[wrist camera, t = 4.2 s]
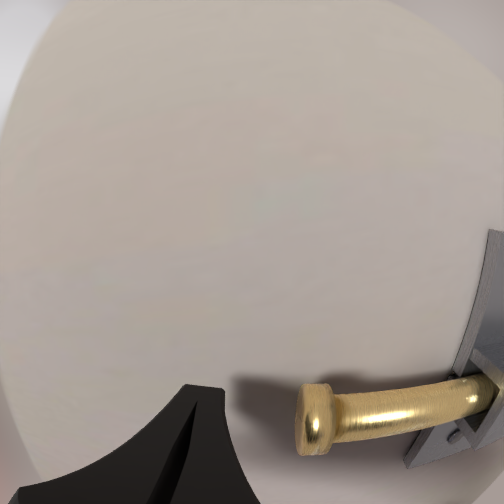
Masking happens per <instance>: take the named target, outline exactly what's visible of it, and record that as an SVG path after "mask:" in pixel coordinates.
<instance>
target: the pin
mask: <svg viewBox="0 0 504 504" xmlns="http://www.w3.org/2000/svg"><path fill="white" fill-rule="evenodd" d="M500 390H501V389H500V388H499V387H498V386H497V385H496V384H495V383H494V382H493V381H492V380H491V379H490V378H489V377H488V376H487V375H486V374H485V373H480V374H476V375H472V376H468V377H464V378H459V379H455V380H450V381H445V382H440V383H435V384H429V385H423V386H417V387H410V388H403V389H395V390H387V391H377V392H366V393H353V394H333V391H332V388H331V387H330V385H329V384H302V385H301V387H300V390H299V393H298V398H297V404H296V412H295V442H296V448H297V452H298V454H299V455H300V456H305V455H323V454H327V453H328V452H329V450H330V448H331V446H332V443H340V442H350V441H359V440H366V439H374V438H380V437H386V436H392V435H397V434H402V433H407V432H412V431H416V430H421V429H425V428H429V427H433V426H436V425H440V424H444V423H447V422H450V421H454V420H457V419H460V418H463V417H466V416H469V415H472V414H475V413H478V412H480V411H483V410H486V409H488V408H491V407H492V405H493V403H494V402H495V400H496V398H497V396H498V394H499V392H500Z"/></svg>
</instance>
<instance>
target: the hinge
mask: <svg viewBox="0 0 504 504" xmlns="http://www.w3.org/2000/svg"><path fill="white" fill-rule="evenodd" d="M452 369H453V370H454V371H455V373H456V374H455V375H450V376H449V377H448V379H447V381H450V380H455V379H459V378H464V377H468V376H472V375H476V374H480V373H485V374H486V375H487V376H488V377H489V378H490V379H491V380H492V381H493V382H494V383H495V384H496V385H497V386H498V387H499V388H500V389H501V390H500V392H499V394H498V396H497V398H496V400H495V402H494V403H493V405H492V407H491V408H488V409H486V410H483V411H480V412H478V413H475V414H472V415H469V416H466V417H463V418H460V419H457V420H454V421H450V422H447V423H444V424H440V425H436V426H433V427H429V428H425V429H422V431H421V432H420V434H419V436H418V437H417V439H416V441H415V442H414V444H413V446H412V447H411V449H410V450H409V452H408V453H407V455H406V456H405V458H404V459H403V461H404V463H405V465H406V467H407V469H409V468H412V467H416V466H420V465H423V464H426V463H429V462H433V461H436V460H439V459H442V458H444V457H447V456H450V455H453V454H455V453H458V452H461V451H463V450H466V449H468V448H470V447H472V448H473V450H474V451H475V450H478V449H480V448H482V447H484V446H486V445H488V444H490V443H492V442H494V441H496V440H498V439H500V438H502V437H504V232H502V231H497V230H492V229H489V236H488V243H487V249H486V255H485V260H484V266H483V270H482V275H481V280H480V284H479V288H478V292H477V296H476V300H475V304H474V307H473V311H472V314H471V318H470V321H469V324H468V327H467V330H466V333H465V336H464V339H463V342H462V345H461V347H460V350H459V353H458V355H457V358H456V360H455V363H454V365H453V368H452Z"/></svg>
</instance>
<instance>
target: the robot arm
mask: <svg viewBox="0 0 504 504" xmlns="http://www.w3.org/2000/svg"><path fill="white" fill-rule="evenodd" d="M8 504H260V502H259V501H258V499H257V497H256V496H255V494H254V492H253V490H252V489H251V487H250V485H249V483H248V481H247V479H246V477H245V475H244V473H243V470H242V468H241V466H240V463H239V461H238V458H237V456H236V453H235V450H234V447H233V444H232V441H231V438H230V434H229V430H228V426H227V422H226V416H225V391H224V390H223V389H222V388H214V387H205V386H197V385H189V384H185V385H184V386H182V388H181V389H180V390H179V391H178V393H177V394H176V395H175V396H174V397H173V398H172V400H171V401H170V402H169V403H168V404H167V405H166V406H165V407H164V408H163V409H162V410H161V411H160V412H159V413H158V414H157V415H156V416H155V417H154V418H153V419H152V420H151V421H150V422H149V423H148V424H147V425H146V426H145V427H144V428H143V429H141V430H140V431H139V432H138V433H137V434H136V435H134V436H133V437H132V438H131V439H129V440H128V441H127V442H125V443H124V444H123V445H121V446H120V447H119V448H117V449H116V450H114V451H113V452H111V453H109V454H108V455H106V456H104V457H103V458H101V459H99V460H97V461H96V462H94V463H92V464H90V465H88V466H86V467H84V468H82V469H80V470H77V471H75V472H72V473H70V474H67V475H65V476H62V477H59V478H57V479H53V480H50V481H46V482H42V483H38V484H34V485H30V486H24V487H20V488H19V489H18V490H17V491H16V493H15V494H14V496H13V497H12V499H11V500H10V502H9V503H8Z"/></svg>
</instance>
